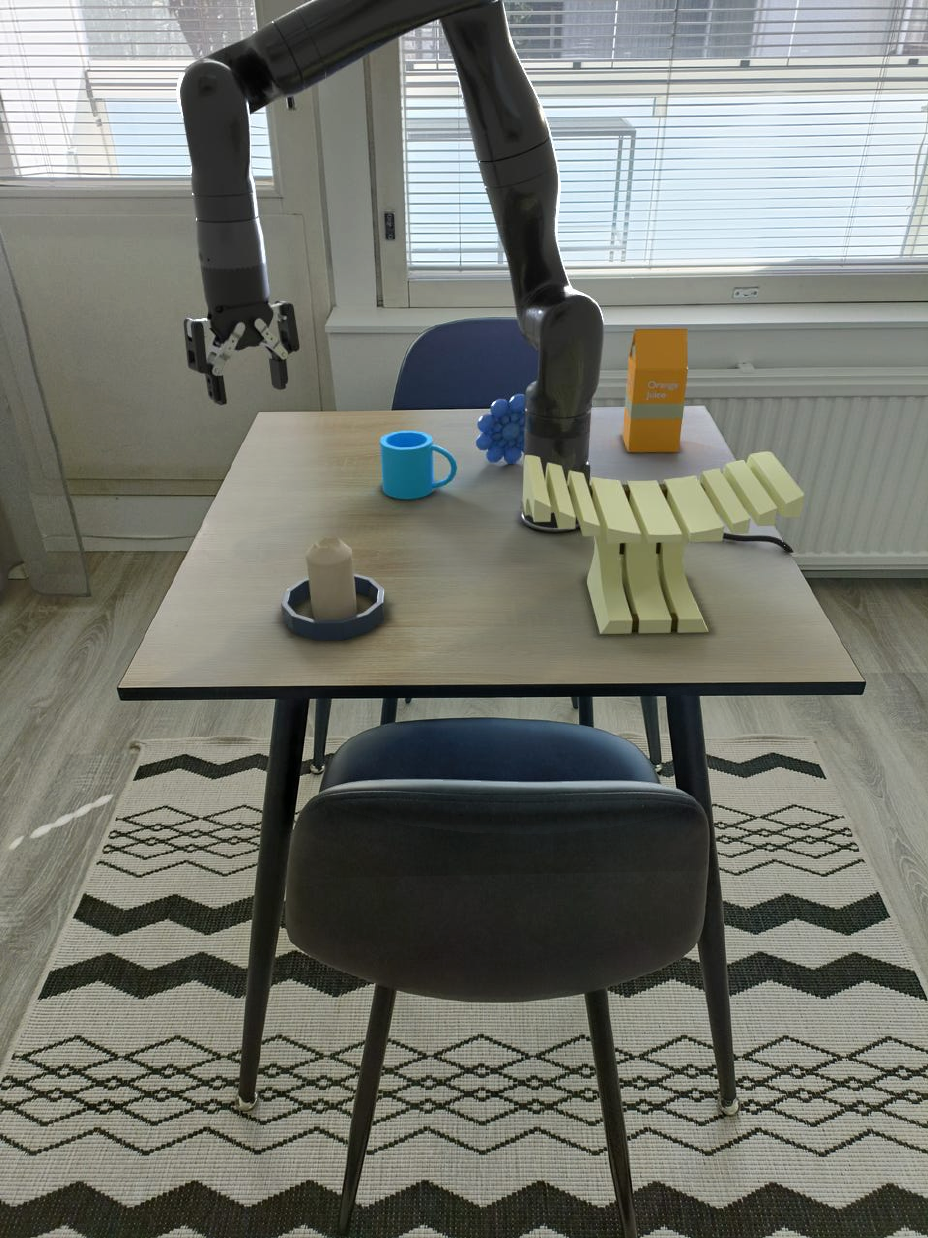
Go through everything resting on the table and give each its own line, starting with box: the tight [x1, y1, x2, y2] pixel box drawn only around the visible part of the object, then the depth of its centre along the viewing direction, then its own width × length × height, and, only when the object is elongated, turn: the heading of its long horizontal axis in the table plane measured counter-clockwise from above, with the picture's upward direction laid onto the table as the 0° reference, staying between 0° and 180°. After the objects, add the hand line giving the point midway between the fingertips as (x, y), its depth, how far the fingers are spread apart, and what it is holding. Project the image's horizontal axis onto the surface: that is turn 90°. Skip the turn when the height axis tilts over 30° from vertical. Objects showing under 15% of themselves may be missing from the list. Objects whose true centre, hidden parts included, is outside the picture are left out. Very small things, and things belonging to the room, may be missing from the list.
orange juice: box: [622, 328, 689, 453], centre depth 163 cm, size 8×9×20 cm
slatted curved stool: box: [522, 451, 806, 635], centre depth 118 cm, size 30×16×18 cm, turn 91°
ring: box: [280, 573, 386, 641], centre depth 119 cm, size 12×12×2 cm
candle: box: [305, 536, 358, 620], centre depth 117 cm, size 6×6×10 cm
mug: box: [379, 430, 458, 500], centre depth 150 cm, size 12×8×8 cm
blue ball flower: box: [475, 393, 526, 465], centre depth 159 cm, size 12×7×12 cm, turn 90°
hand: (250, 395), depth 119 cm, fingers open, 8 cm apart
